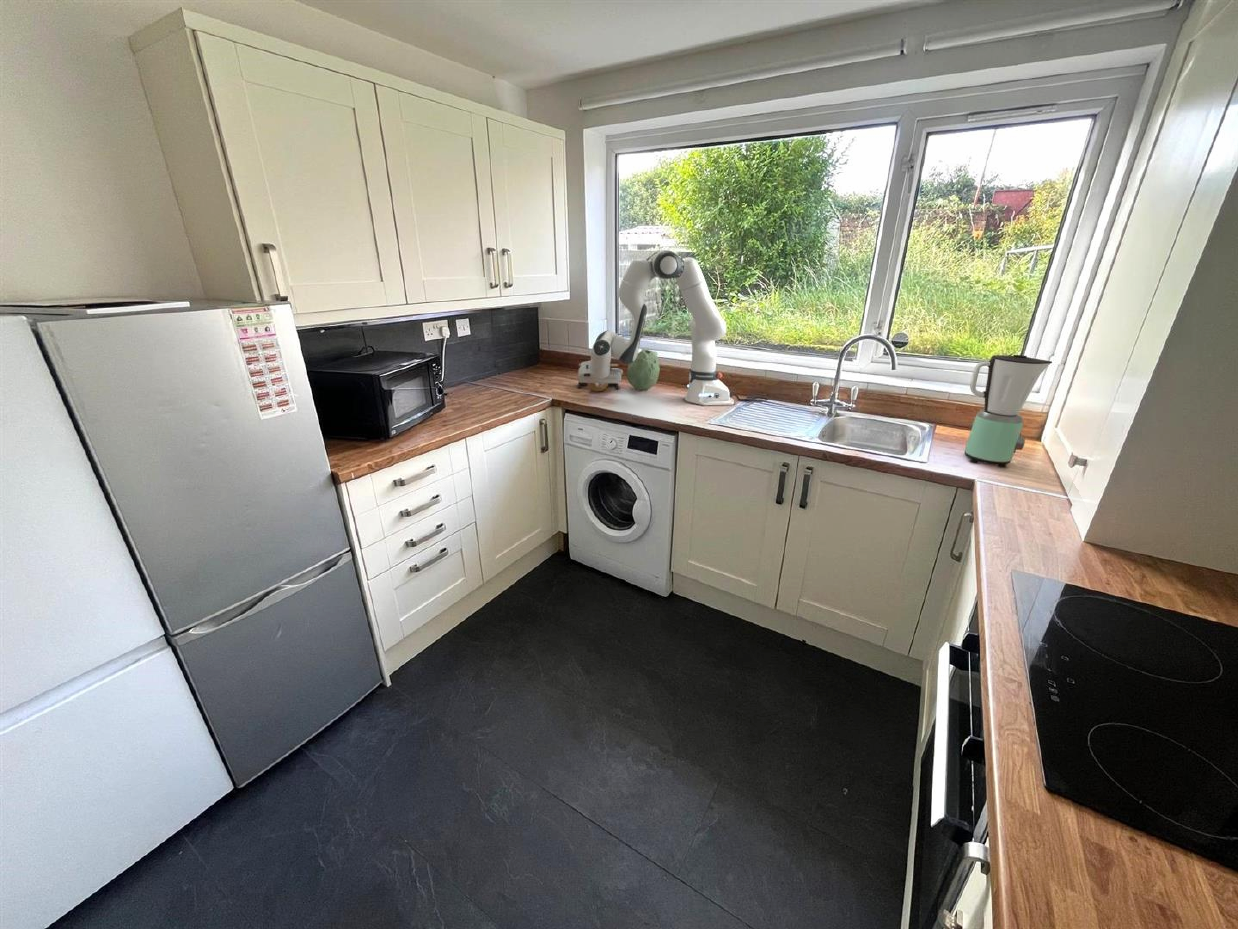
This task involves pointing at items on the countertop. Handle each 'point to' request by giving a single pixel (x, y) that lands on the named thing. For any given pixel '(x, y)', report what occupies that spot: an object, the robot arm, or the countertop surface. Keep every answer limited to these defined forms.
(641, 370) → the green rounded bumpy piece
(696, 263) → the robot arm
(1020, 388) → the green blender
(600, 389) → the potato
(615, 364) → the shoe shelf
